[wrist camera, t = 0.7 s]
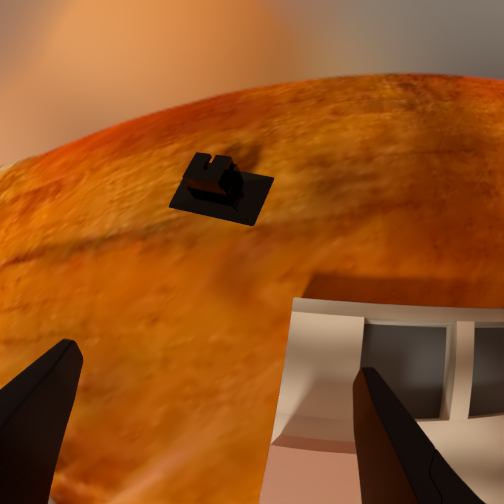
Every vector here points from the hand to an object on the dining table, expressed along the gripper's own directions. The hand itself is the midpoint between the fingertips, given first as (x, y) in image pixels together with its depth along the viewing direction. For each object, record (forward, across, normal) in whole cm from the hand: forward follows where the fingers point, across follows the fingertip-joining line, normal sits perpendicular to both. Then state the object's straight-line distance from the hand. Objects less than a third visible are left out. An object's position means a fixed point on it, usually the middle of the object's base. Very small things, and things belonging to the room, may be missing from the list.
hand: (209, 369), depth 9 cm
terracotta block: (0, -6, +13) cm, 15 cm away
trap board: (+3, -17, +12) cm, 21 cm away
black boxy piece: (+23, +3, +5) cm, 24 cm away
